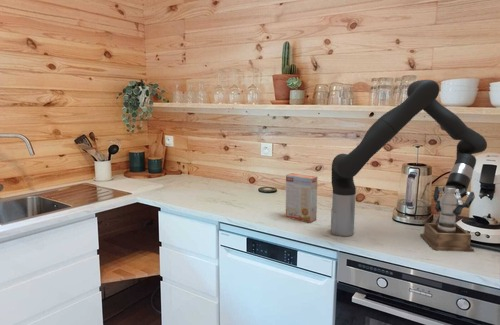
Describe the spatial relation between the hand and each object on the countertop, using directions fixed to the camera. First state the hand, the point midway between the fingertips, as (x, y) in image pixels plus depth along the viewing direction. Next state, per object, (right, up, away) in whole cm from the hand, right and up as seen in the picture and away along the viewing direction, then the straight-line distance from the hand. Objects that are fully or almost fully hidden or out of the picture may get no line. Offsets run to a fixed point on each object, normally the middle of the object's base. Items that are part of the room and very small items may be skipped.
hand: (446, 212), depth 135 cm
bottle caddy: (+1, -12, +3) cm, 13 cm away
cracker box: (-50, -8, +34) cm, 61 cm away
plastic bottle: (+1, -10, +3) cm, 11 cm away
